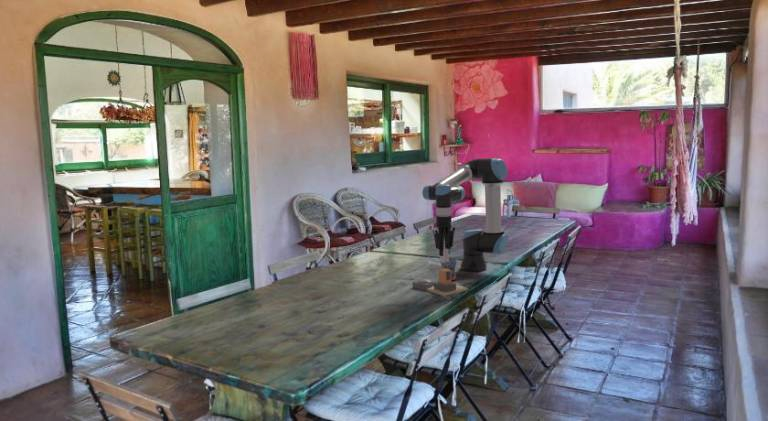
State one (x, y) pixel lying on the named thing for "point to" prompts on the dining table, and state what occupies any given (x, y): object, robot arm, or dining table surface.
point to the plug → (444, 276)
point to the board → (446, 289)
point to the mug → (450, 267)
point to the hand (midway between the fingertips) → (444, 261)
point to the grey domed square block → (424, 283)
